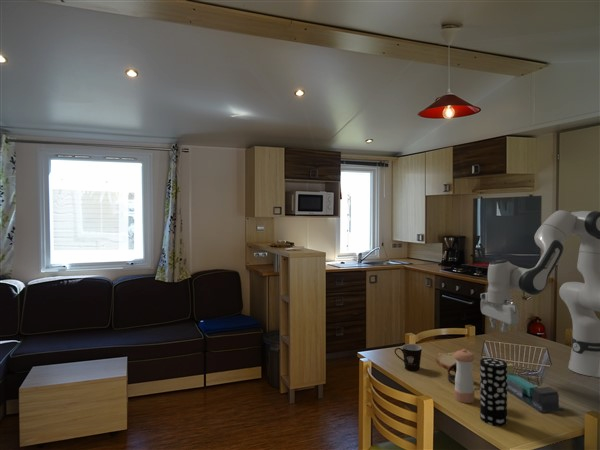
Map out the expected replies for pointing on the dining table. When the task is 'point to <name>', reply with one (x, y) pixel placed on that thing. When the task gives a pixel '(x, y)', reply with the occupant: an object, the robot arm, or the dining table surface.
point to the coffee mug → (411, 356)
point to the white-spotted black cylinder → (493, 391)
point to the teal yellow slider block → (519, 380)
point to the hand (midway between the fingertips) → (498, 329)
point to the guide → (537, 397)
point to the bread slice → (446, 359)
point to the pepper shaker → (464, 377)
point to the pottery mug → (450, 376)
